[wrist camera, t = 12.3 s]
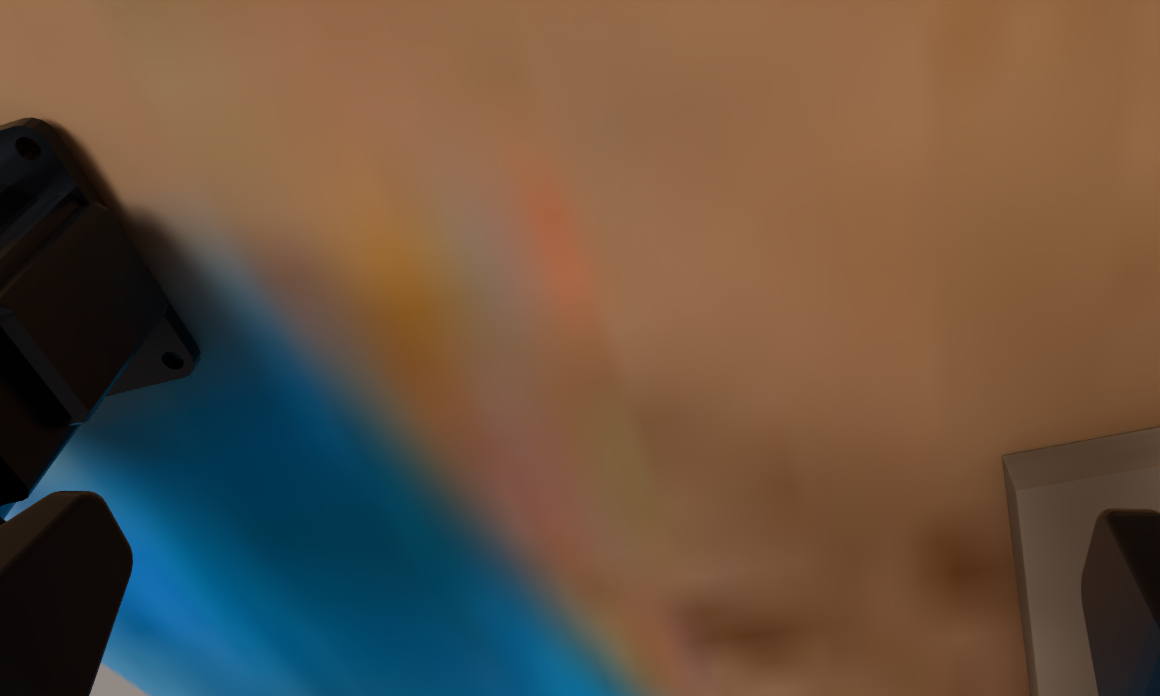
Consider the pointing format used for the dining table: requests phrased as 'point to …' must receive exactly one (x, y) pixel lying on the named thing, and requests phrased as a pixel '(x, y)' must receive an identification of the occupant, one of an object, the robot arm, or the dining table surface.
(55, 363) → the robot arm
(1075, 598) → the grey flat square slab
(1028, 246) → the dining table surface
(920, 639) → the dining table surface
